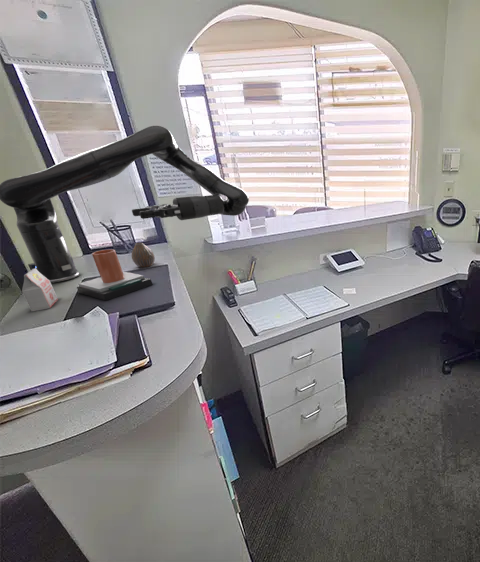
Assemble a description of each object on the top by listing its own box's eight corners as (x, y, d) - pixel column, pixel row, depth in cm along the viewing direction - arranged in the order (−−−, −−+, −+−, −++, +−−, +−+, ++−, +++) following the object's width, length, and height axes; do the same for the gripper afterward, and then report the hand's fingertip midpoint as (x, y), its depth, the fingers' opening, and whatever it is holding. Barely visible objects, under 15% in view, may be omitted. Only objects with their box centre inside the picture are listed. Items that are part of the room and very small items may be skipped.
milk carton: (31, 311, 83) (14, 276, 79) (41, 302, 88) (25, 269, 85) (50, 307, 85) (34, 273, 81) (58, 299, 90) (43, 267, 86)
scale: (78, 293, 94) (75, 283, 93) (125, 278, 105) (122, 270, 104) (105, 300, 88) (102, 291, 87) (152, 284, 99) (149, 275, 98)
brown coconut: (145, 269, 114) (138, 246, 111) (130, 268, 116) (122, 245, 112) (161, 263, 121) (154, 241, 117) (146, 262, 122) (139, 240, 119)
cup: (98, 281, 94) (87, 253, 91) (118, 275, 99) (108, 248, 96) (108, 283, 92) (97, 255, 89) (128, 277, 97) (118, 250, 93)
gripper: (181, 195, 111) (126, 200, 99) (197, 197, 102) (139, 203, 90) (186, 216, 113) (133, 223, 102) (202, 220, 105) (146, 228, 93)
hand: (136, 214), depth 96 cm, fingers open, 8 cm apart
